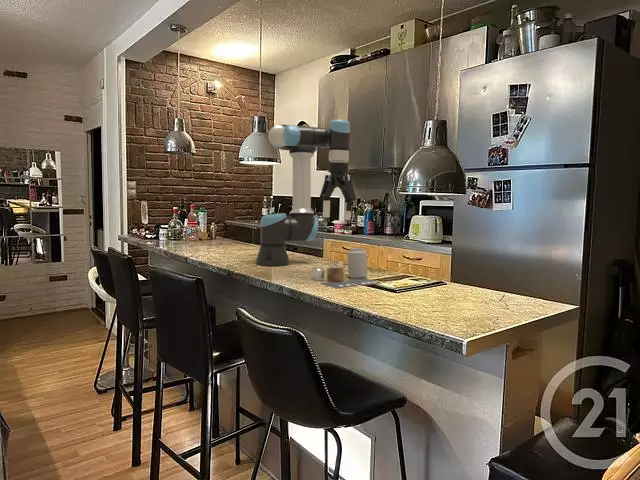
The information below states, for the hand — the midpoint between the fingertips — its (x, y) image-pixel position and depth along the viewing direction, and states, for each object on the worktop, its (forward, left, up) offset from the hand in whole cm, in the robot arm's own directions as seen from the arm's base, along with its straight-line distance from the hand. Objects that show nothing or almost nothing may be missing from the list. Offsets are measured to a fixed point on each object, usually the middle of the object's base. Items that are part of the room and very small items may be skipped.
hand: (336, 218), depth 180 cm
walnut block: (+2, -1, -24) cm, 24 cm away
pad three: (+8, +8, -24) cm, 27 cm away
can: (0, +11, -24) cm, 27 cm away
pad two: (+8, -4, -24) cm, 26 cm away
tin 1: (-3, -6, -24) cm, 25 cm away
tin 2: (-3, +2, -24) cm, 25 cm away
